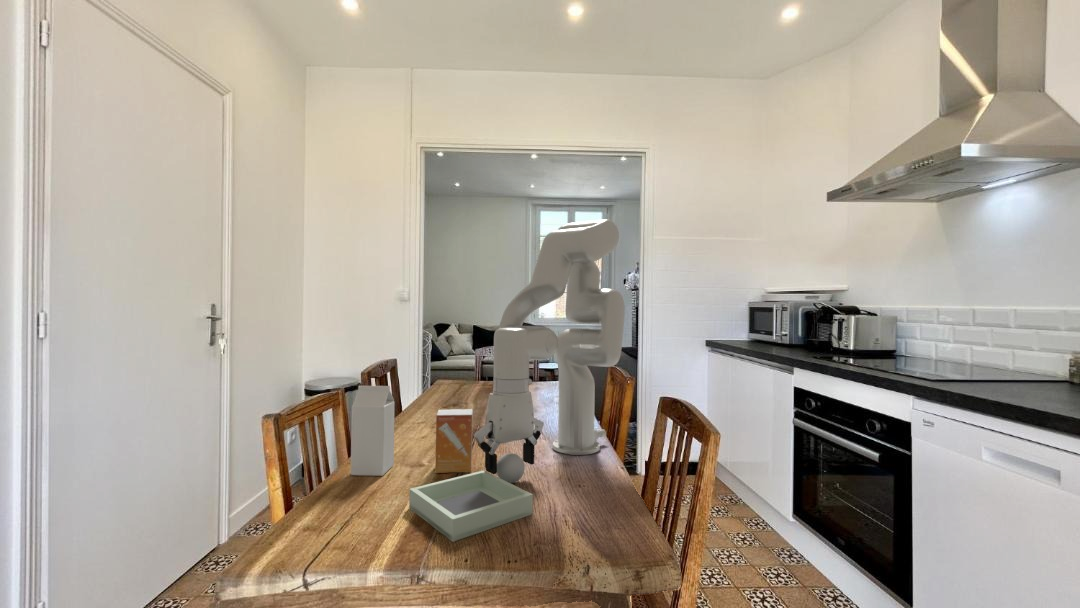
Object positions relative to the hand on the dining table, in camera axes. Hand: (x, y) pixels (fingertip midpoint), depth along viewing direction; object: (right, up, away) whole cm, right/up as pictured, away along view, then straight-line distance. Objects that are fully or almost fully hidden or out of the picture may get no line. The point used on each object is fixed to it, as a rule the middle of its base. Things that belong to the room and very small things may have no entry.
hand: (510, 467), depth 98 cm
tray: (-6, -3, -14) cm, 16 cm away
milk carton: (-31, -3, +6) cm, 32 cm away
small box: (-13, -3, +8) cm, 16 cm away
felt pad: (-6, -3, -14) cm, 16 cm away
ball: (0, 0, 0) cm, 0 cm away
